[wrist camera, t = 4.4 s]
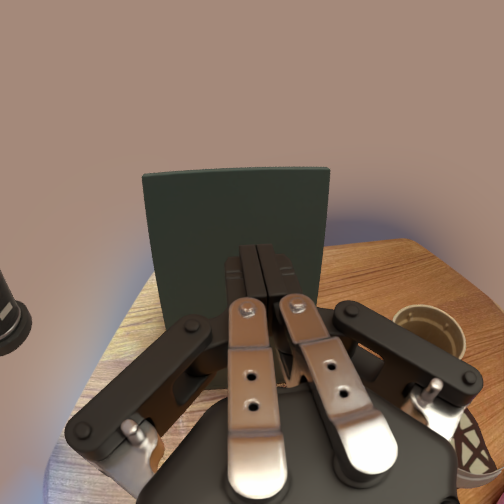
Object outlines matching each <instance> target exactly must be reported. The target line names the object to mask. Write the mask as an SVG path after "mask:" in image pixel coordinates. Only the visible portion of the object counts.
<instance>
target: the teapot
mask: <svg viewBox="0 0 504 504" xmlns="http://www.w3.org/2000/svg"><path fill="white" fill-rule="evenodd" d="M497 504H504V493H503V494H502V495H501V497H500V499H499V500H498V502H497Z"/></svg>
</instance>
